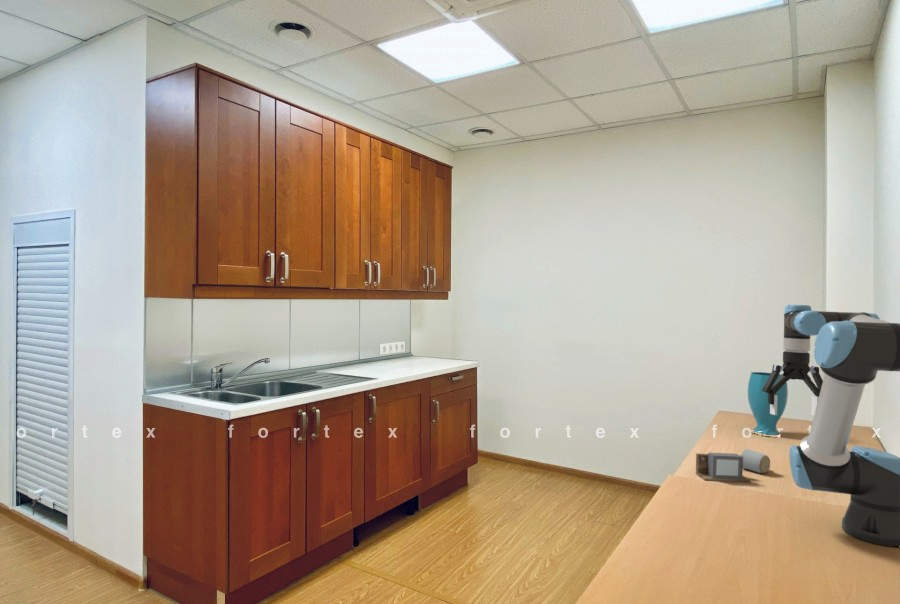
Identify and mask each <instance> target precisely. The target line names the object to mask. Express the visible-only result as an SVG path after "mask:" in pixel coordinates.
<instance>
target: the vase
mask: <svg viewBox="0 0 900 604" xmlns="http://www.w3.org/2000/svg"><path fill="white" fill-rule="evenodd" d="M770 374H771V372H764V371H763V372H759V371H758V372H757V371H756V372H755V371H753V372H752V371H751V373H750V375H749V376H750V377H749V379H748V384H747V385H748V386H747V400H748V405H749V407H750V408H749V409H750V410H751V412H752V415H753V417H754V420H755V423H756V427H754V428H753V429H752V430H754V432H757V433H761V434H766V435H779V434H781V433H780V432H779V430H778V429H777V424H778V422H779V421H780V419H781V417H782V416H783V414H784V412H785V410H786V407H787V402H788V397H789V394H788V393H789V392H788V391H789V389H788V381H787V382H786V383H785V384H784V385H783V386H782V387H781V388H780V389H779V390H778V391H777V393H776V394H775V395H777V415H773V414H770V404H768V393H766V392H763V391H762V389H763V387H764V385H765V383H766V381H767V380H768V378H769V376H770ZM782 374H783V373H782ZM782 374H779V376H778V378H777V379H776V381H775V383H776V382H777V380H778V379H779V378H780V376H781V375H782ZM775 383H774V384H775Z"/></svg>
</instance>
